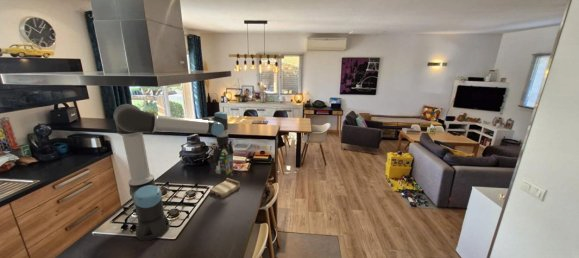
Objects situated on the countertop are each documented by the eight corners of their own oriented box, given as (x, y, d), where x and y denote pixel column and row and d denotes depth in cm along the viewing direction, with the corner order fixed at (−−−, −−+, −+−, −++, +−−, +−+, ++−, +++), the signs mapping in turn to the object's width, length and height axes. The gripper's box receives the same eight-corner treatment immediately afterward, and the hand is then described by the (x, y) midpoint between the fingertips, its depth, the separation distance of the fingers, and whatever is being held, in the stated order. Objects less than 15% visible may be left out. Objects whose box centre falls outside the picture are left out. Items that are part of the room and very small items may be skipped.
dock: (223, 198, 150) (222, 192, 148) (210, 192, 155) (210, 186, 154) (239, 187, 163) (239, 181, 162) (227, 183, 169) (227, 177, 168)
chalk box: (234, 170, 158) (233, 150, 154) (226, 175, 150) (225, 154, 146) (222, 168, 161) (221, 148, 157) (214, 173, 153) (213, 152, 149)
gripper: (212, 141, 137) (215, 174, 143) (238, 132, 156) (239, 162, 162) (204, 138, 141) (207, 171, 147) (230, 130, 160) (231, 160, 166)
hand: (224, 166), depth 154 cm, fingers closed on chalk box, 10 cm apart
